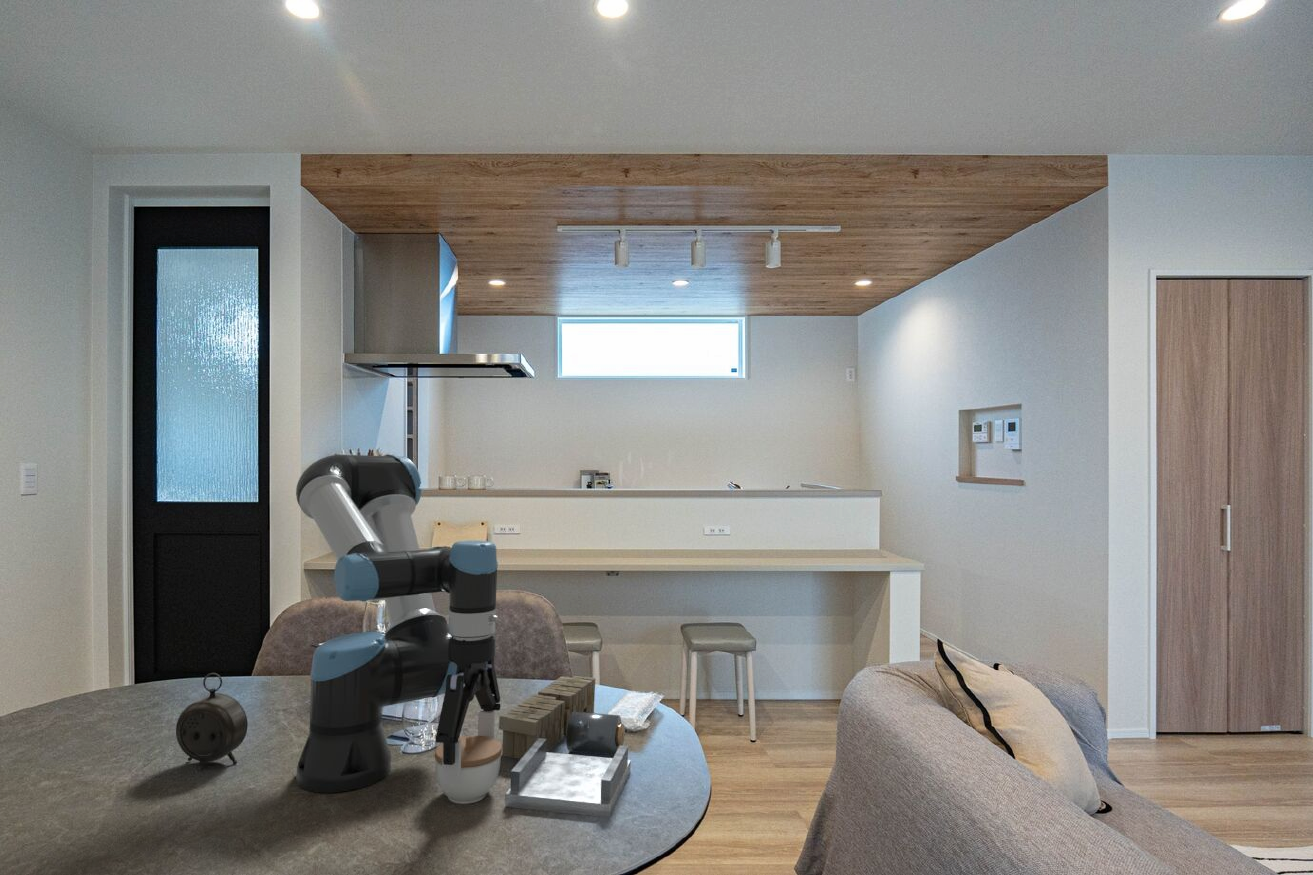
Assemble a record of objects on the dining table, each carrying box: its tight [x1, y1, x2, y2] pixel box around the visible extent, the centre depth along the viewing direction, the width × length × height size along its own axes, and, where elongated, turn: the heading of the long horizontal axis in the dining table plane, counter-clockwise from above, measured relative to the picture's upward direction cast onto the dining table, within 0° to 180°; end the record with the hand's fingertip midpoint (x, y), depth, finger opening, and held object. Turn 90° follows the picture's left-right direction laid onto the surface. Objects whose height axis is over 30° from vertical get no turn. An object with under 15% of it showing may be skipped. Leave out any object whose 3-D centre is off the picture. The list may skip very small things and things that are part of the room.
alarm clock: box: [175, 672, 249, 771], centre depth 128 cm, size 11×5×16 cm, turn 85°
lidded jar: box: [434, 735, 502, 805], centre depth 119 cm, size 11×11×9 cm
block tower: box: [498, 675, 596, 760], centre depth 146 cm, size 8×8×29 cm
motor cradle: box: [504, 712, 632, 819], centre depth 127 cm, size 17×28×7 cm, turn 171°
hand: (469, 765), depth 118 cm, fingers open, 13 cm apart
